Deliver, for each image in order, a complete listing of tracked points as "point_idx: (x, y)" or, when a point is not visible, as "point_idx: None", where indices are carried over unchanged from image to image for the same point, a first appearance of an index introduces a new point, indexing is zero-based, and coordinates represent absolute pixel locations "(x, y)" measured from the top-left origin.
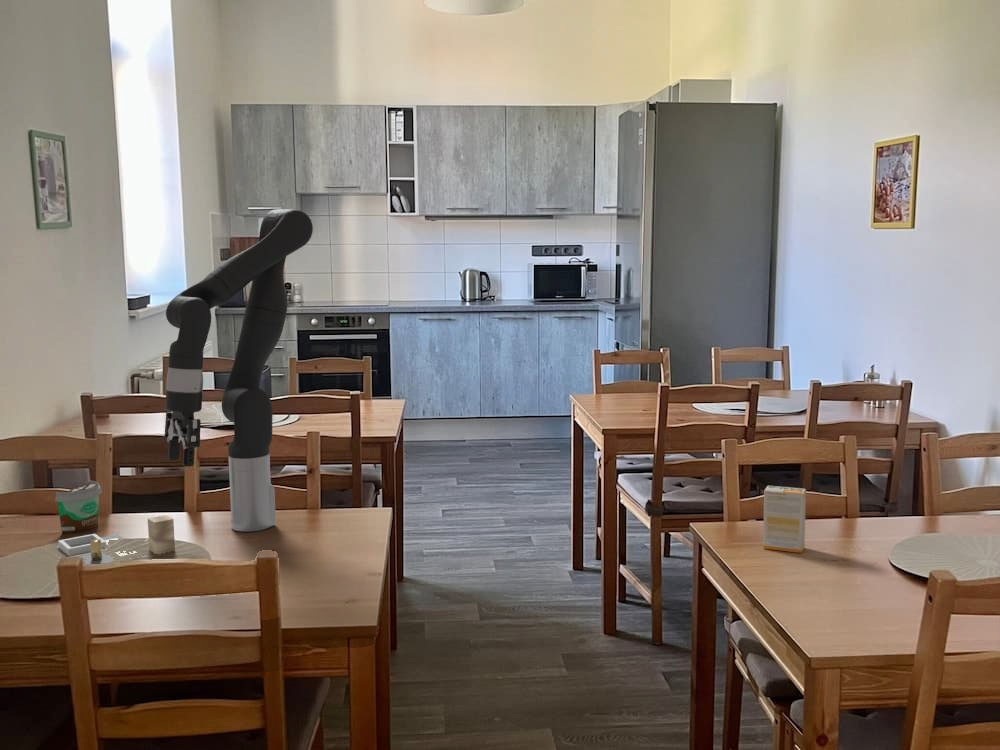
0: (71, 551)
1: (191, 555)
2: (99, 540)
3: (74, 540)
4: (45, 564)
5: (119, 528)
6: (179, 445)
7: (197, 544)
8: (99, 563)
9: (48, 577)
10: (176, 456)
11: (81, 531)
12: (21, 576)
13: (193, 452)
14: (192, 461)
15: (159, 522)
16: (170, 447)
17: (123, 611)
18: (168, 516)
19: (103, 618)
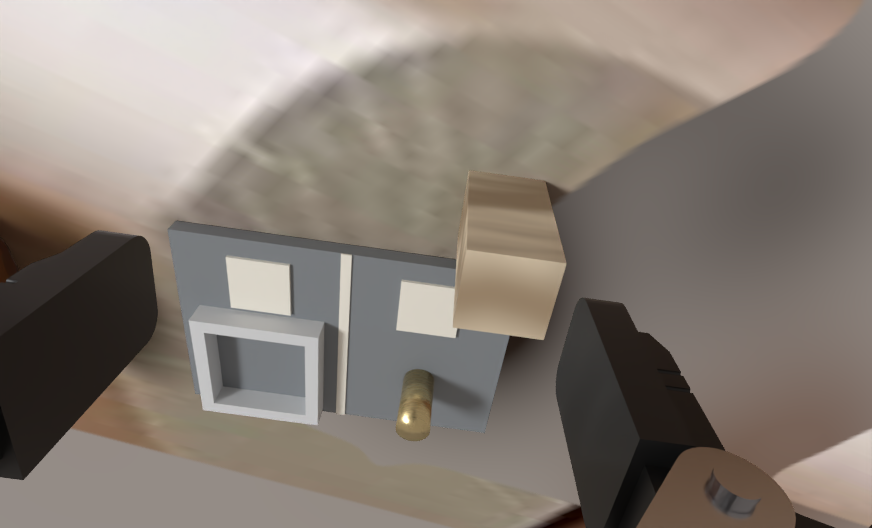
0: (319, 411)
1: (600, 137)
2: (420, 422)
3: (212, 373)
4: (316, 436)
5: (19, 153)
6: (16, 327)
7: (483, 35)
8: (463, 390)
9: (431, 465)
10: (129, 274)
11: (14, 268)
12: (373, 489)
13: (717, 445)
14: (669, 364)
15: (547, 317)
16: (61, 421)
17: (827, 467)
18: (501, 256)
19: (815, 500)
